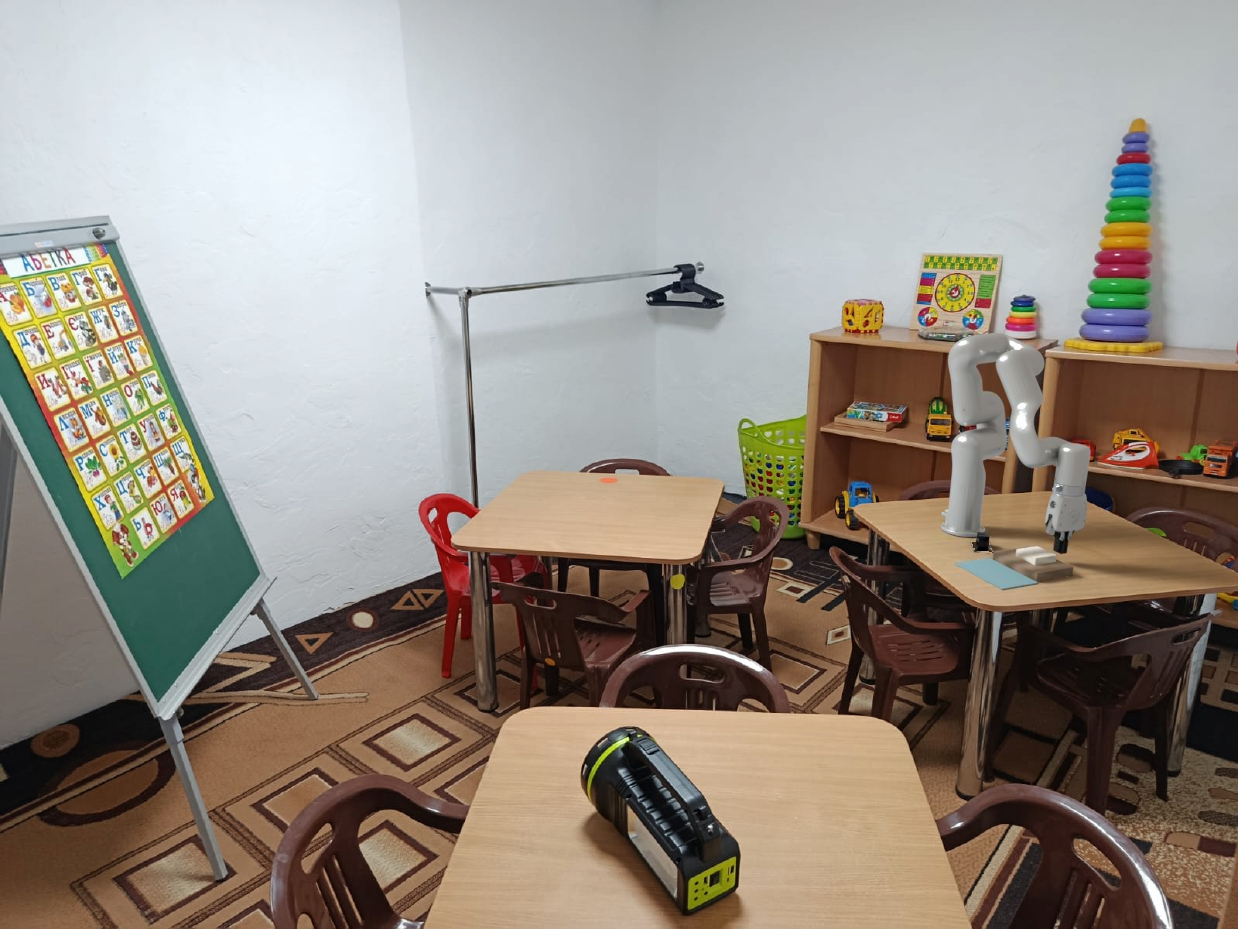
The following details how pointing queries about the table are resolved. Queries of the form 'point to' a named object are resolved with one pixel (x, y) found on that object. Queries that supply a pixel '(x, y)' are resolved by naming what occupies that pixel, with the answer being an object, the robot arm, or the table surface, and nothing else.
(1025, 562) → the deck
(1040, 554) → the tile
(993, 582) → the mat
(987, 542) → the black irregular piece
